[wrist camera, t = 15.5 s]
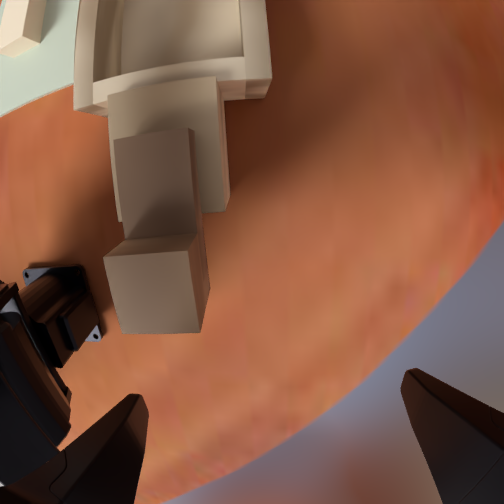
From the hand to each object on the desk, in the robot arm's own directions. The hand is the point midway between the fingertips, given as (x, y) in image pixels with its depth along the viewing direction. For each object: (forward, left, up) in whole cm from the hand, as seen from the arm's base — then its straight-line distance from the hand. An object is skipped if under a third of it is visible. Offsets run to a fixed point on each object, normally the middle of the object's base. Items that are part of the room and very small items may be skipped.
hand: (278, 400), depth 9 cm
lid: (-17, +21, -13) cm, 30 cm away
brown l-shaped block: (-4, +5, -6) cm, 9 cm away
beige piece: (-4, +15, -12) cm, 20 cm away
